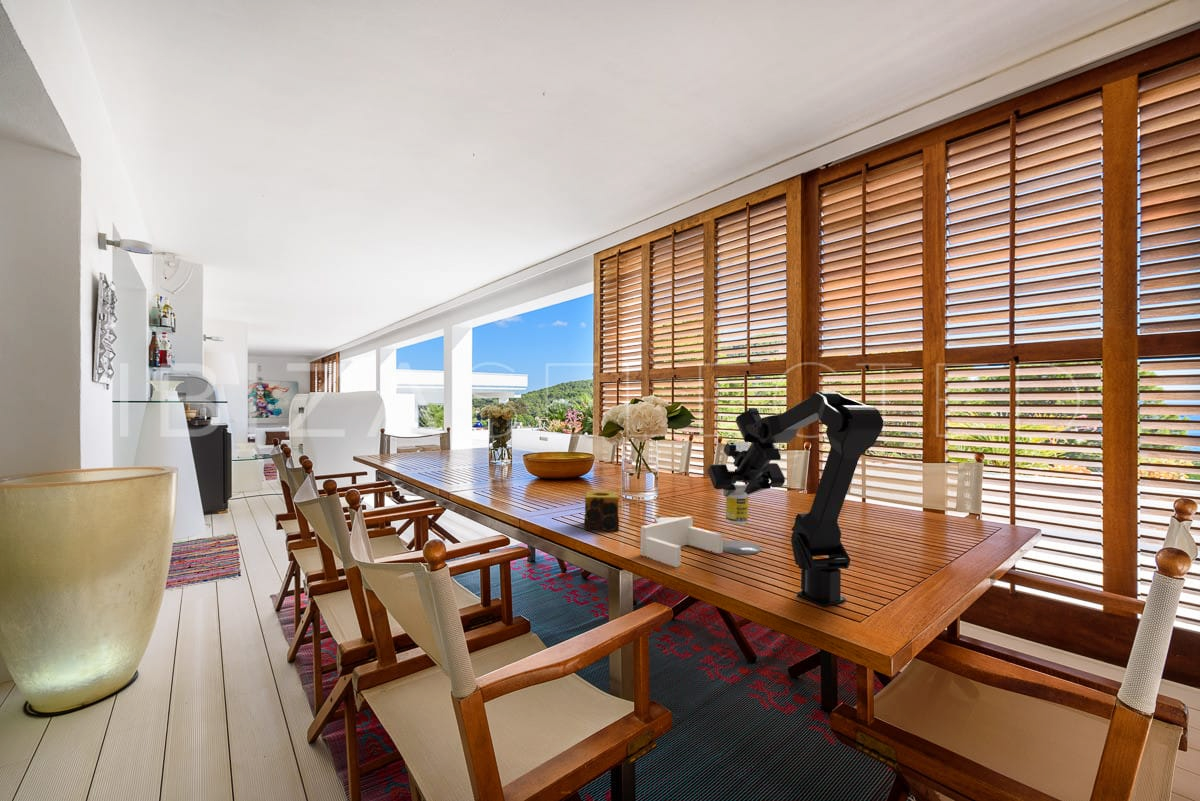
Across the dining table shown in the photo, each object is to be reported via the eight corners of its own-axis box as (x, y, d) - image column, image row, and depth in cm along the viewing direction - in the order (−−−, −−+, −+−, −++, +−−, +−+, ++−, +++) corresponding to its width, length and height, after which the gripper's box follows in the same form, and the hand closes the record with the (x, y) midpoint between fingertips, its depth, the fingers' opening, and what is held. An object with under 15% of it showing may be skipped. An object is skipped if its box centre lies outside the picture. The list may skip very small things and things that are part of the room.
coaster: (770, 550, 128) (770, 549, 128) (737, 556, 122) (737, 555, 122) (739, 539, 137) (739, 538, 137) (707, 545, 132) (707, 543, 132)
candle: (619, 532, 144) (619, 497, 144) (583, 531, 145) (584, 497, 144) (618, 523, 155) (618, 490, 155) (585, 522, 155) (585, 490, 155)
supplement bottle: (737, 525, 126) (737, 486, 125) (721, 520, 130) (721, 483, 130) (752, 522, 128) (752, 484, 128) (736, 518, 133) (736, 481, 133)
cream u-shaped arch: (722, 552, 126) (723, 524, 126) (675, 567, 115) (676, 536, 115) (687, 542, 135) (687, 516, 135) (640, 554, 123) (640, 526, 123)
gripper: (778, 431, 127) (755, 469, 138) (711, 432, 123) (692, 470, 134) (797, 466, 120) (771, 503, 131) (726, 468, 116) (705, 506, 126)
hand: (734, 494), depth 131 cm, fingers closed on supplement bottle, 5 cm apart
